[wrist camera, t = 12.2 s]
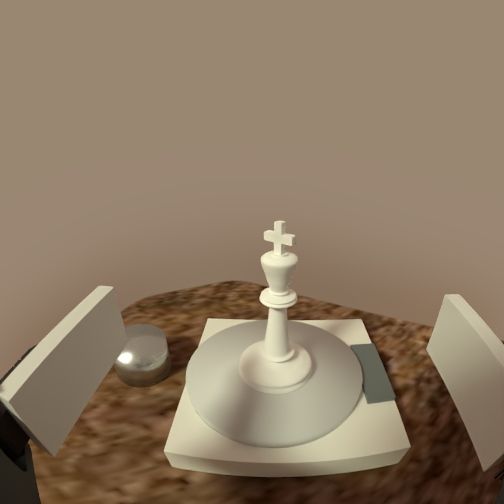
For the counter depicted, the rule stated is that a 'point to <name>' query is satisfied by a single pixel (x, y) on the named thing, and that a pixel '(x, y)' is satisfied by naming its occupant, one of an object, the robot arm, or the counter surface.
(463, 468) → the counter surface
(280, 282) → the chess piece
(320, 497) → the counter surface
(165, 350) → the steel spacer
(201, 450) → the scale
